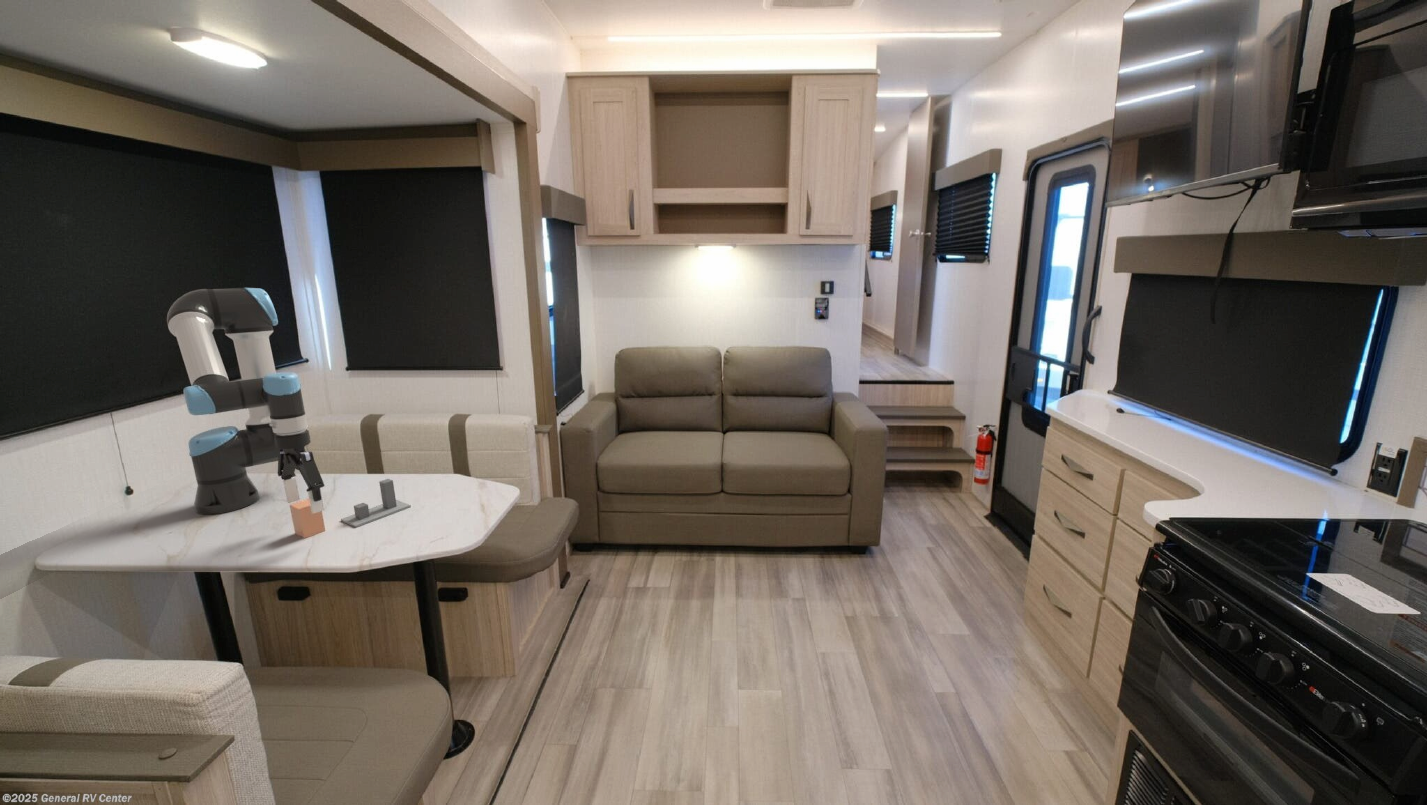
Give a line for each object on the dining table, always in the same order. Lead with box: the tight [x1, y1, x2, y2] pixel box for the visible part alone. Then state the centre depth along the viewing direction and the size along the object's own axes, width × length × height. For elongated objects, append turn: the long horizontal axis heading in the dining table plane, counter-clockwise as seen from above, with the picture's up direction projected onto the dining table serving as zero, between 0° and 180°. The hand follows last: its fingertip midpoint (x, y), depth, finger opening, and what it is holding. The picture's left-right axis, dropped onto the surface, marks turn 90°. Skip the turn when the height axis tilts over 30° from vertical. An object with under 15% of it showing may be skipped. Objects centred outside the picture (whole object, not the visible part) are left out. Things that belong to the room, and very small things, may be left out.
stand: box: [340, 478, 412, 528], centre depth 167 cm, size 8×16×9 cm, turn 149°
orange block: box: [289, 498, 326, 539], centre depth 156 cm, size 5×5×9 cm
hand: (305, 506), depth 155 cm, fingers open, 13 cm apart
